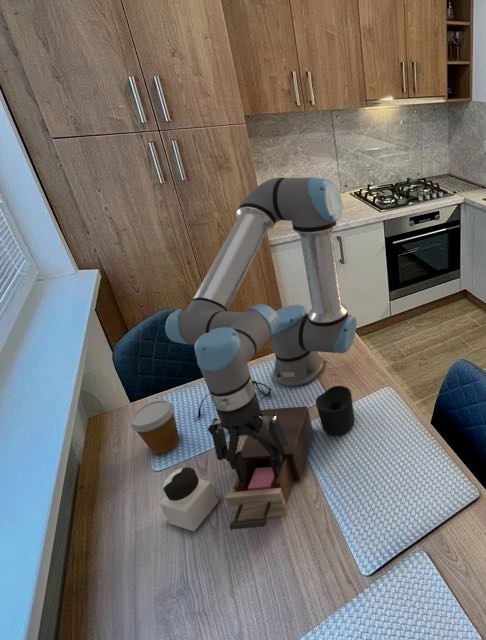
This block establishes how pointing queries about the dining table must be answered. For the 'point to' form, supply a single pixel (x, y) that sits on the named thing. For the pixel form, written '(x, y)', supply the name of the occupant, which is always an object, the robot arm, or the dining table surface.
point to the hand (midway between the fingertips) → (261, 474)
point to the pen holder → (336, 410)
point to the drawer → (260, 496)
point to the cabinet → (296, 433)
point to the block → (263, 479)
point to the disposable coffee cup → (156, 426)
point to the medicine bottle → (187, 499)
